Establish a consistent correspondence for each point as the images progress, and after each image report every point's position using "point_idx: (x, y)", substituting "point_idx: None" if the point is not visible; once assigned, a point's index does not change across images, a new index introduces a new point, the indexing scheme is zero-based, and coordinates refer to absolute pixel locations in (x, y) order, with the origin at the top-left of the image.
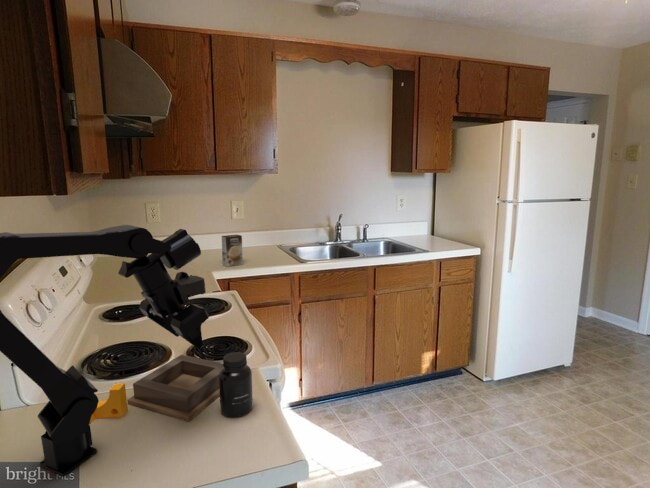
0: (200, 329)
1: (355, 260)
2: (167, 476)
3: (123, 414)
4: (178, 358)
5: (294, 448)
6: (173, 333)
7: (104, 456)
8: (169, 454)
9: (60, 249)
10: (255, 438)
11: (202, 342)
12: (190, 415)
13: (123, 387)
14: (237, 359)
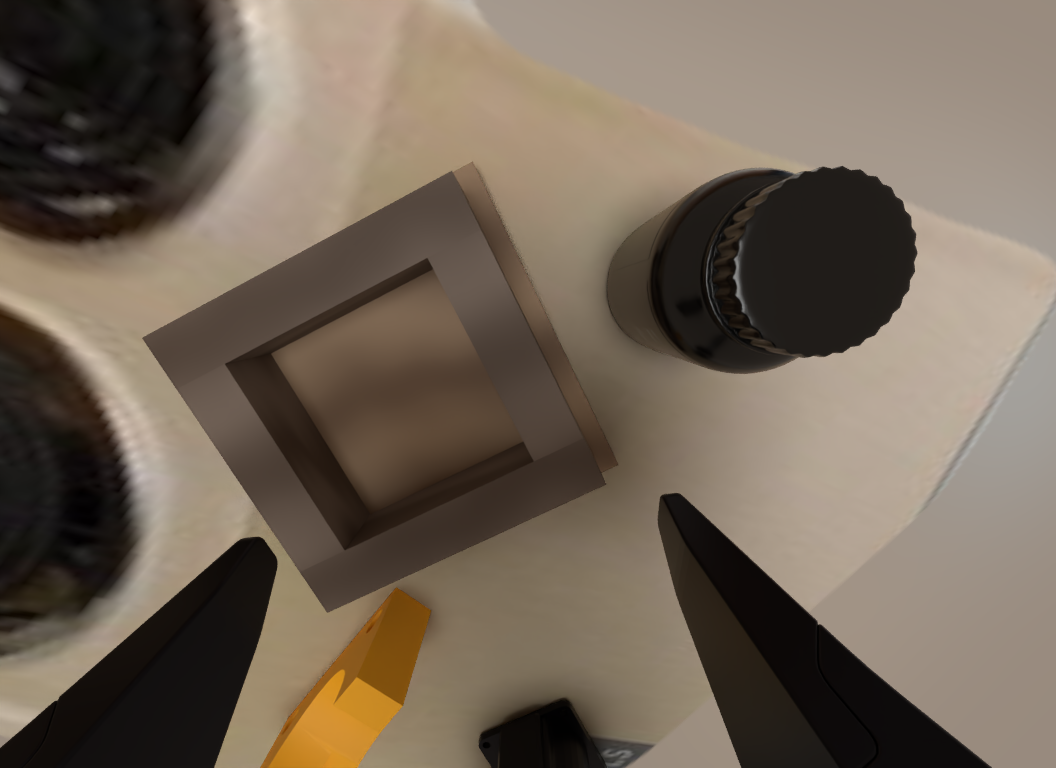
0: (916, 713)
1: None
2: (803, 591)
3: (422, 608)
4: (184, 368)
5: (1019, 249)
6: (260, 628)
7: (597, 687)
8: None
9: None
10: None
11: (707, 519)
12: (613, 455)
13: (373, 674)
14: (879, 271)
